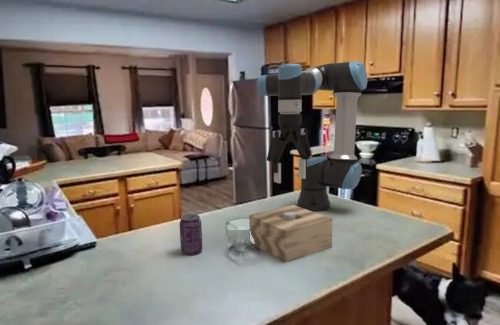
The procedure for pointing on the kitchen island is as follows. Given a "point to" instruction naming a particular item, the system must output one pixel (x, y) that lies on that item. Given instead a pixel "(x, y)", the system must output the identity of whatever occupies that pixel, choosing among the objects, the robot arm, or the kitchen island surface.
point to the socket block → (291, 232)
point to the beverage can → (190, 234)
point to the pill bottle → (289, 216)
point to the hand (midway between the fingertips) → (290, 180)
